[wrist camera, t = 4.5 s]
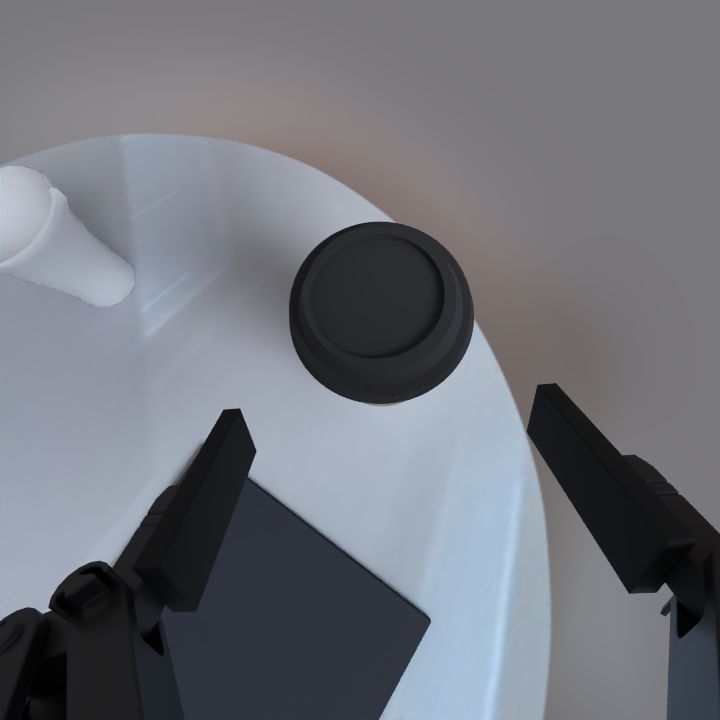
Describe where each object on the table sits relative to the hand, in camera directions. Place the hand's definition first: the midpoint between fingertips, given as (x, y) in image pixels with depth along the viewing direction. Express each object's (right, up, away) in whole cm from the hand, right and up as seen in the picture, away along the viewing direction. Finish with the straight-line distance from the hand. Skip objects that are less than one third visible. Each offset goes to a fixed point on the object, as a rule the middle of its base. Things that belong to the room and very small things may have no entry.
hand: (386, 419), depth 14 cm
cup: (-26, +11, +18) cm, 34 cm away
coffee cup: (+1, +2, +13) cm, 14 cm away
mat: (-11, -19, +9) cm, 23 cm away
